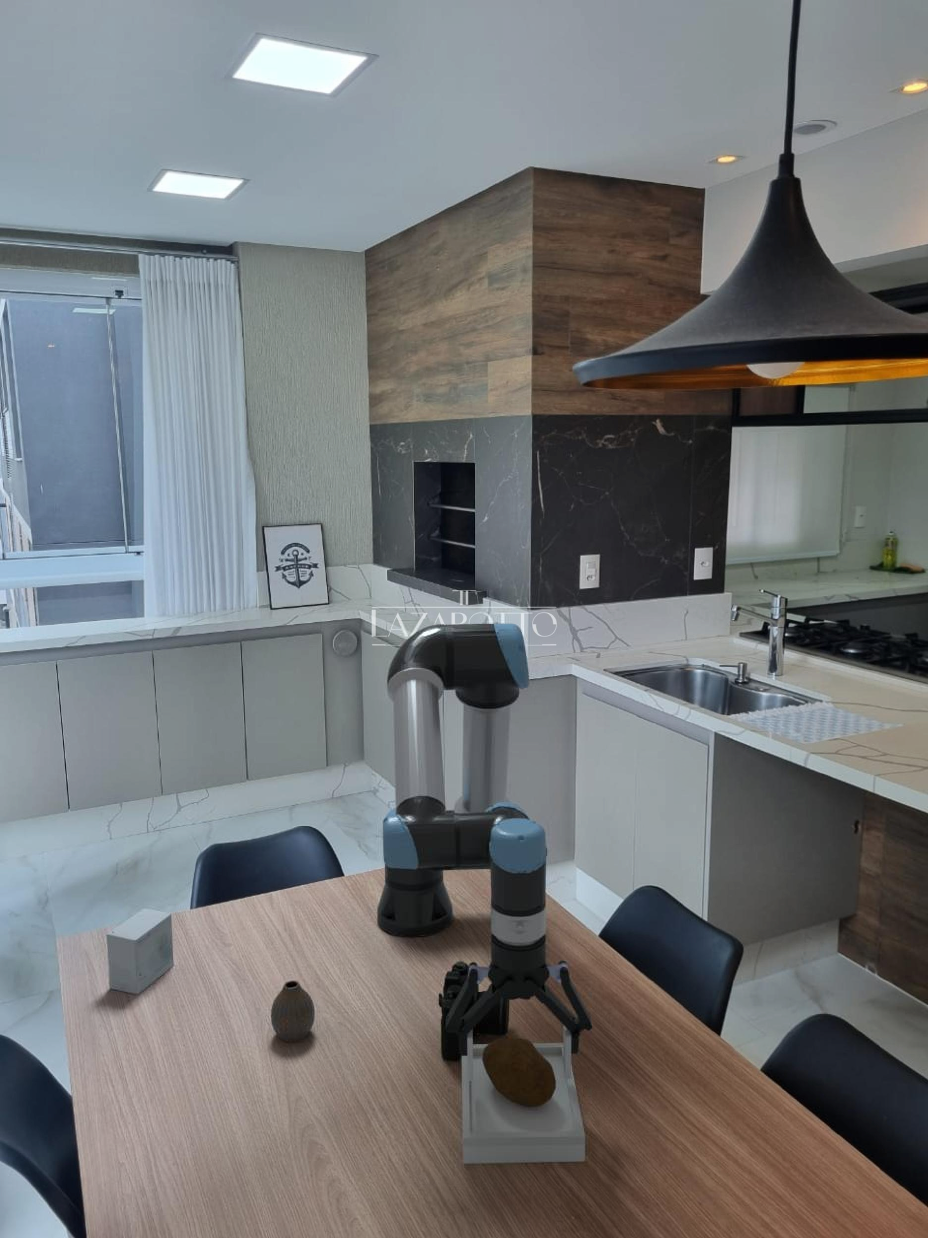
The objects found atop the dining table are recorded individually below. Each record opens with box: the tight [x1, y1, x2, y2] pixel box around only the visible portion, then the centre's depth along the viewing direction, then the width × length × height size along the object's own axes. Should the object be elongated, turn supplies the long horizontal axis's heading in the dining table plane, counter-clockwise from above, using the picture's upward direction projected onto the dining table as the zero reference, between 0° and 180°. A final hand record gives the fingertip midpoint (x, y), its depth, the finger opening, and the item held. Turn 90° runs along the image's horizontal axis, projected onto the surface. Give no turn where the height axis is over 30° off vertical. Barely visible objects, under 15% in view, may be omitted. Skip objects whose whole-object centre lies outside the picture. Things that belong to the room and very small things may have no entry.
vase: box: [270, 980, 316, 1043], centre depth 152 cm, size 7×7×9 cm
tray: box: [461, 1042, 586, 1165], centre depth 134 cm, size 20×16×4 cm
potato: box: [482, 1036, 556, 1107], centre depth 133 cm, size 8×12×8 cm, turn 51°
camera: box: [438, 960, 510, 1062], centre depth 151 cm, size 14×11×10 cm
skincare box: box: [106, 908, 175, 995], centre depth 169 cm, size 10×6×10 cm, turn 161°
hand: (518, 1074), depth 133 cm, fingers open, 13 cm apart
